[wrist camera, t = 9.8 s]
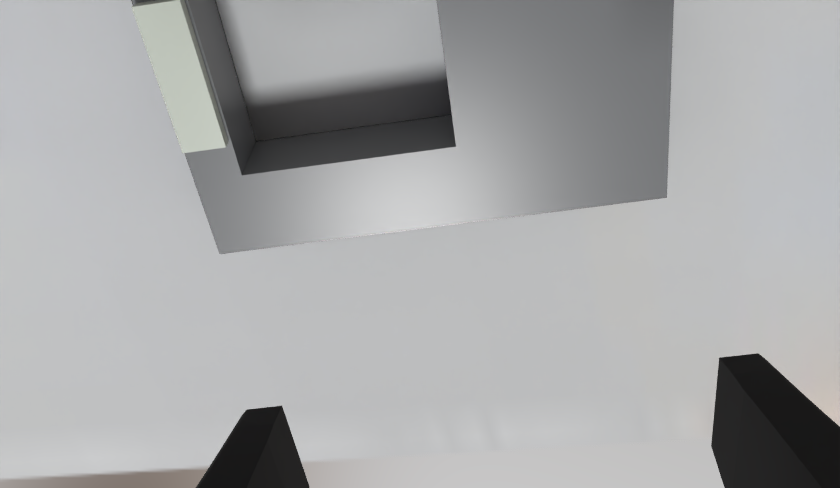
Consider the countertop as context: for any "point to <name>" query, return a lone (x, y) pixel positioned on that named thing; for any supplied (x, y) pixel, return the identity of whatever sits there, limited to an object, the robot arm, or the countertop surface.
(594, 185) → the dock
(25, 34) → the countertop surface
